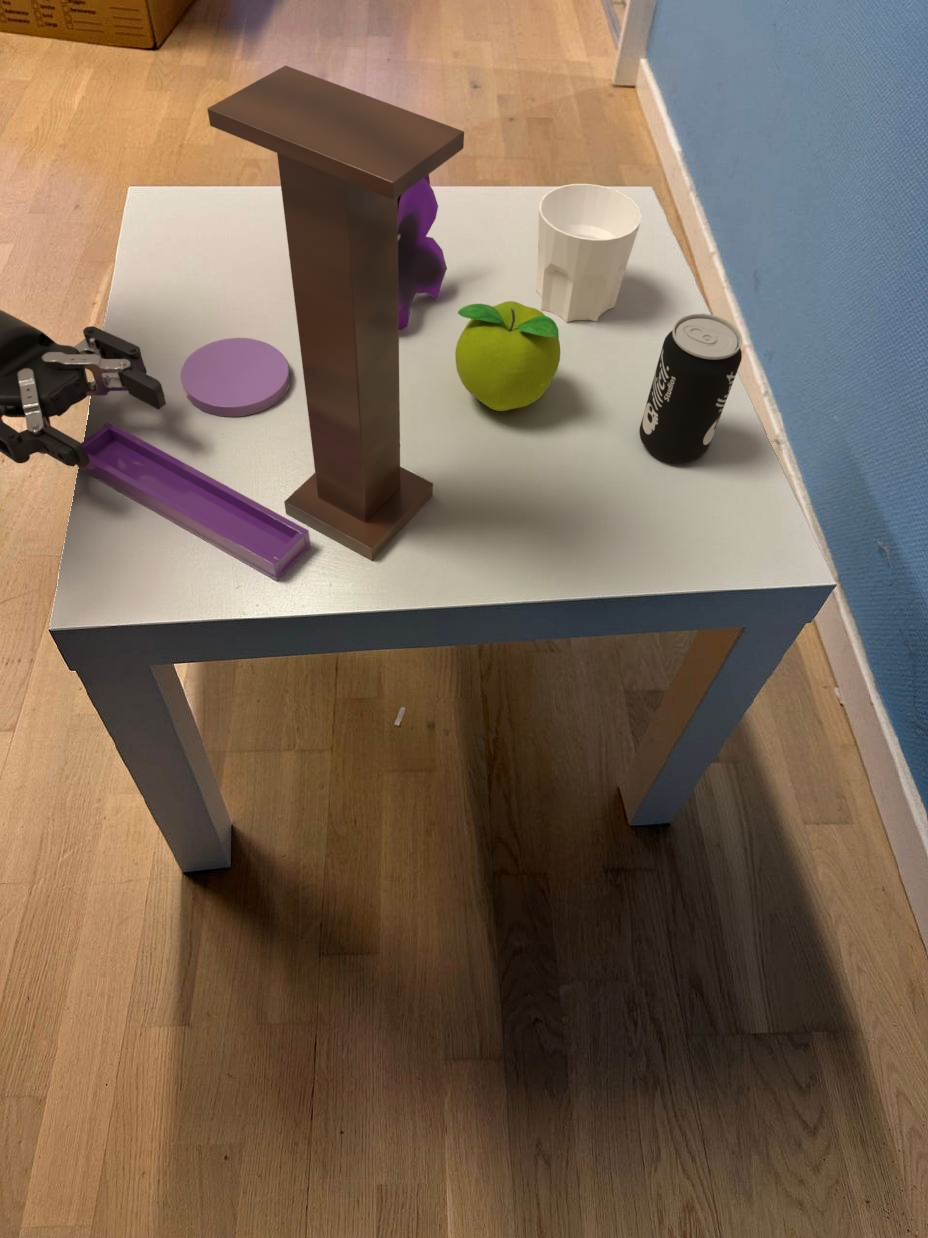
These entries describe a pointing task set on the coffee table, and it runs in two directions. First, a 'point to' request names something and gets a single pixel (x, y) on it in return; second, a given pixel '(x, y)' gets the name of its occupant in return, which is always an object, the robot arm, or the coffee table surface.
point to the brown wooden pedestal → (345, 285)
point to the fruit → (507, 354)
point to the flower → (417, 248)
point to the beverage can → (690, 387)
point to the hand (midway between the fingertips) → (124, 426)
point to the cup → (583, 249)
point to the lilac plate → (235, 377)
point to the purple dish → (195, 501)
